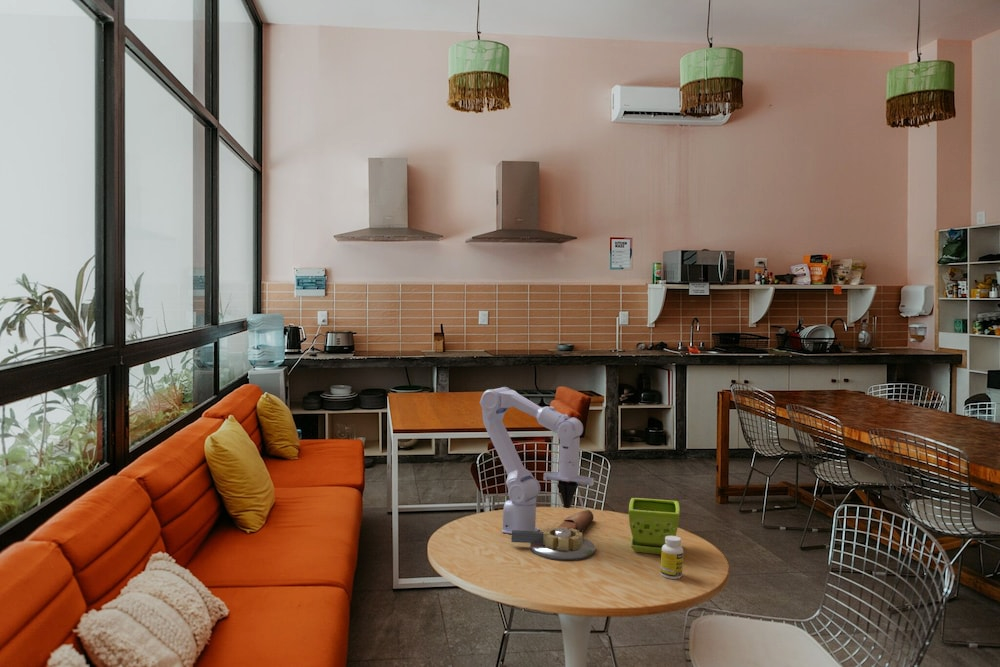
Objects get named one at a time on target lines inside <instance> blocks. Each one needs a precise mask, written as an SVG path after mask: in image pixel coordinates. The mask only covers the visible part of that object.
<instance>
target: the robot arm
mask: <svg viewBox="0 0 1000 667" xmlns="http://www.w3.org/2000/svg"><path fill="white" fill-rule="evenodd" d="M479 405H480V407H481V411H482V422H483V426H484V427H485V430H486V432H487V434H488V436H489V438H490V441H491V443H492V445H493V447H494V448H495V451H496V453H497V455H498V457H499V458H498V459H499V460H500V461H501V464H502V466H503V468H504V470H505V472H506V475H507V478H506V482H505V485H506V487H507V491H508V492H507V493H508V494H507V495H508V498H509V499H508V500H506V501H505V503H504V505H503V511H502V529H501V533H503V534H511V535H512V530H520V531H540V530H541V529H540V527H537V526H536V523H537V522H536V519H537V518H536V517H537V513H536V512H537V497H538V496H539V495H540V492H541V484H540V483H539V481H538V479H537V478H535V477H534V476H533V473H532V472H531V471H530V470H528V469H527V468H525V466H524V465H523V463H522V460H521V458H520V456H519V453H518V452H517V449H516V447H515V445H514V443H513V441H512V439H511V437H510V435H509V432H508V430H507V428H506V426H505V425H504V422H503V419H504V417H505V414H506V412H507V411H508V409H509V408H515V409H517V410H519V411H522V412H524V413H526V414H527V415H530V416H532V417H534V418H536V420H537V423H538V424H539V425H540V426H543V427H544V428H546V429H548V430H550V431H551V432H554V433H555V434H556V436H557V437H558V439H559V451H558V452H559V453H558V454H559V455H558V472H549V471H547V472H544V473H543V476H542V477H543V481H553V482H554V481H555V482H558V483H557V485H556V486H557V488H558V491H559V492H560V496H561V499H562V502H563V507H564V509H570V508H571V507H572V501H573V499H574V495H575V493H576V491H577V489H578V487H579V486H580V485H586V486H589V487H593V485H594V484H595V483H594V481H595V478H594V477H589V476H584V475H580V474H579V471H580V469H579V468H580V467H579V466H580V447H581V446H580V443H581V442H580V441H581V440H580V436H582V434H583V432H584V425H583V423H582V422H581V421H580V419H578V418H577V417H569V415H568V414H566V413H565V414H563V413H561V412H560V411H558V410H555V409H556V408H555V407H554V406H552V405H551V406H544V407H542V406H540V405H538V404H537V403H534V401H531V400H529V399H528V398H527V397H525V396H523V395H521V394H520V393H518V392H517V391H516V390H514V389H511V388H509V387H507V386H501V387H499V388H494V389H493V388H491V389H486V390H485V391H484V392H483V393H482V395H481V397H480V401H479Z"/></svg>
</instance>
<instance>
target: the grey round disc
mask: <svg viewBox="0 0 1000 667" xmlns="http://www.w3.org/2000/svg"><path fill="white" fill-rule="evenodd" d="M555 536H556V537H564V538H569V537H571V530H569V529H565V528H558V529H556V530H555ZM529 545H530V546H529V548H530V551H531V552H532V553H533V554H535V555H537V556H539V557H541V558H544V559H549V560H554V561H563V562H564V561H566V562H567V561H568V562H570V561H571V562H574V561H582V560H586V559H589V558H591V557H592V556H593V555H594V554H595V551H596V547H595V546H596V545H595V544H594V543H593V541H590V540H589V539H586V538H584V537H583V538H582V546H580V548H579V549H576V550H572V549H569V545H568V551H564V550H558V541H557V548H555V549H551V548H548V547H546V546H545V545H543V544H542V543H529Z"/></svg>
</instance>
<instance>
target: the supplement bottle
mask: <svg viewBox="0 0 1000 667" xmlns="http://www.w3.org/2000/svg"><path fill="white" fill-rule="evenodd" d="M665 543H666V544H665V545H663V546H662V554H660V555H661V557H660V558H661V559H660V575H661V576H662V577H664V578H665V579H672V580H676V579H677V578H678V579H681V578H682V577H681V576H683V564H684V548H683V547H682V546H681V545H682V538H681V537H680V536H677V535H676V536H666V537H665ZM680 577H681V578H680ZM678 579H677V580H678Z"/></svg>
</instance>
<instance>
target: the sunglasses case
mask: <svg viewBox="0 0 1000 667" xmlns="http://www.w3.org/2000/svg"><path fill="white" fill-rule="evenodd" d="M593 520H594V514H593V512H592V511H591V510H589V509H587V510H581V511H578V512H576V513H574V514H572V515H569V516H567V517H565V518H564V519H563V522H561V523H560V524H559V525H558V526H557V527H567V529H571V528H573V529H576V530H579V531H580V532H582V533H583V531H585V529H586V528H587V527H588V526H589V525H590V524H591V522H592V521H593ZM557 527H555V528H556V529H557Z"/></svg>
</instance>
